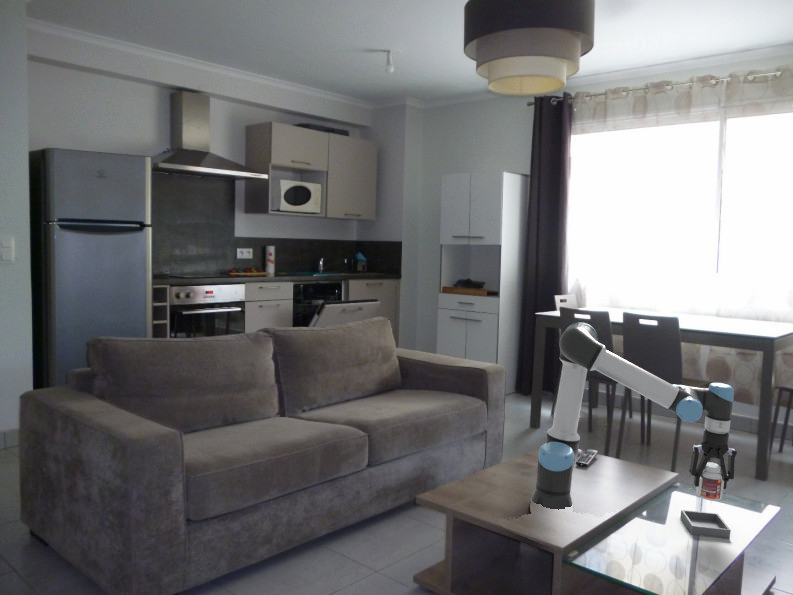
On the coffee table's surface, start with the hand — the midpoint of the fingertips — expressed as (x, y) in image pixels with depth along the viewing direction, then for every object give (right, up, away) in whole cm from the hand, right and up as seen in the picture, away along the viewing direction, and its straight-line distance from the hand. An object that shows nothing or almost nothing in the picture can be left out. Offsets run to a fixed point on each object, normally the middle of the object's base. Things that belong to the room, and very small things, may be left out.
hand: (708, 496), depth 220 cm
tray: (-1, -11, +2) cm, 11 cm away
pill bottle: (0, 0, 0) cm, 0 cm away
